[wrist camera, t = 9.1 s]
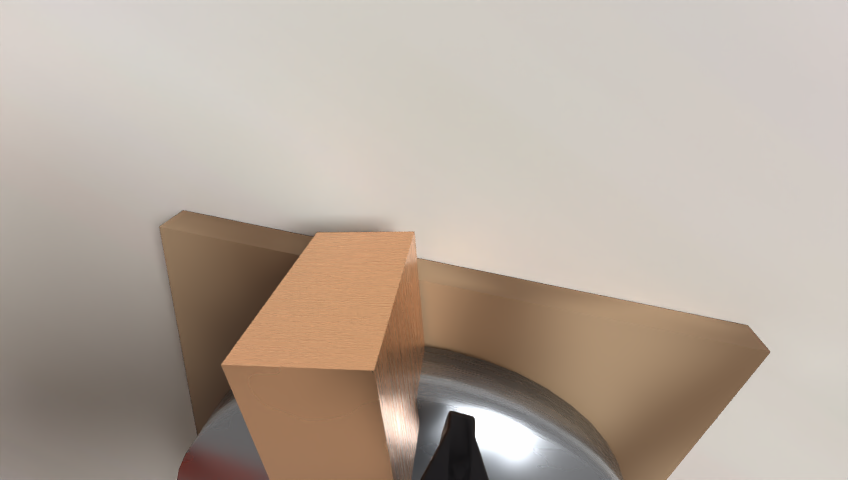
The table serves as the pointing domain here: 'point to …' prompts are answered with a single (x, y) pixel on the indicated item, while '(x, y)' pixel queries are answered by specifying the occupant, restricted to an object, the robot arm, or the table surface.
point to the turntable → (374, 385)
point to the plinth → (486, 338)
